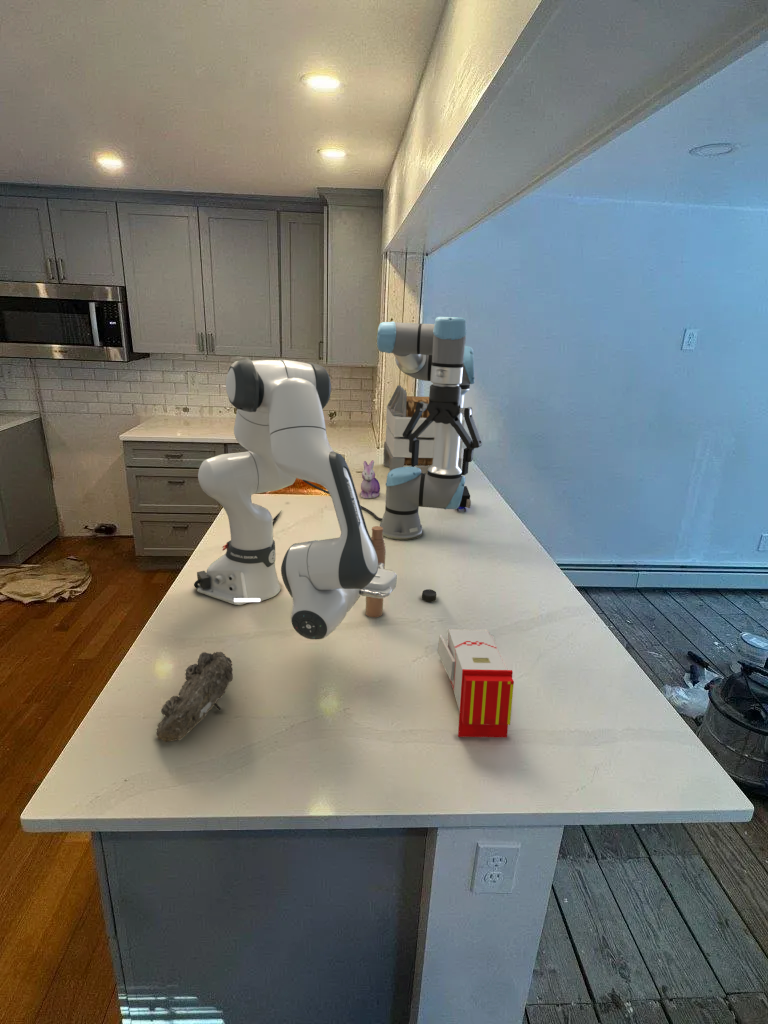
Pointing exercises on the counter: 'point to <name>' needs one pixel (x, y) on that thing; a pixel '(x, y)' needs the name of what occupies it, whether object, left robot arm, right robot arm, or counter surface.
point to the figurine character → (465, 500)
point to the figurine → (369, 482)
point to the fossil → (195, 695)
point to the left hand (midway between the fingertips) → (361, 562)
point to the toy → (478, 682)
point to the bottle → (376, 604)
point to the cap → (429, 595)
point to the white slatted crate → (397, 421)
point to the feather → (275, 518)
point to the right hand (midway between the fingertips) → (439, 469)
